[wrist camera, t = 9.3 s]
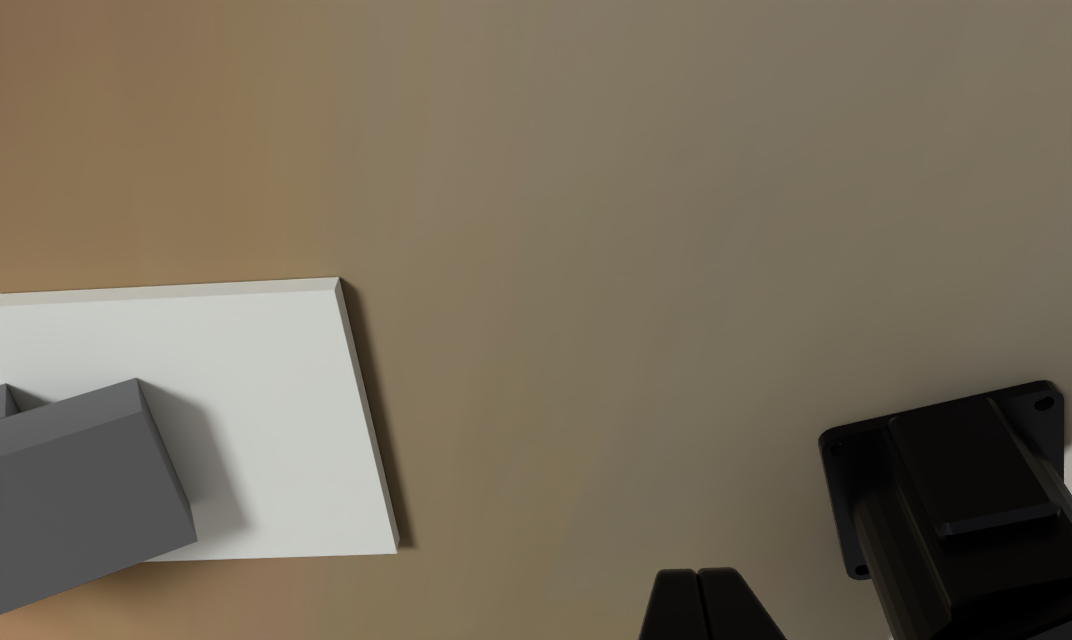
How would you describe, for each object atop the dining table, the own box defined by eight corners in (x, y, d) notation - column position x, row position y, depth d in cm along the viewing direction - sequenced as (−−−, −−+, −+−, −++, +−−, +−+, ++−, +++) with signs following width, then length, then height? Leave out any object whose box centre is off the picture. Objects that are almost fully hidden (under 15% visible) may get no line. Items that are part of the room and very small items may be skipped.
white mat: (338, 276, 23) (334, 289, 22) (399, 538, 28) (397, 553, 28) (-394, 313, 24) (-414, 326, 23) (-193, 558, 30) (-205, 573, 29)
